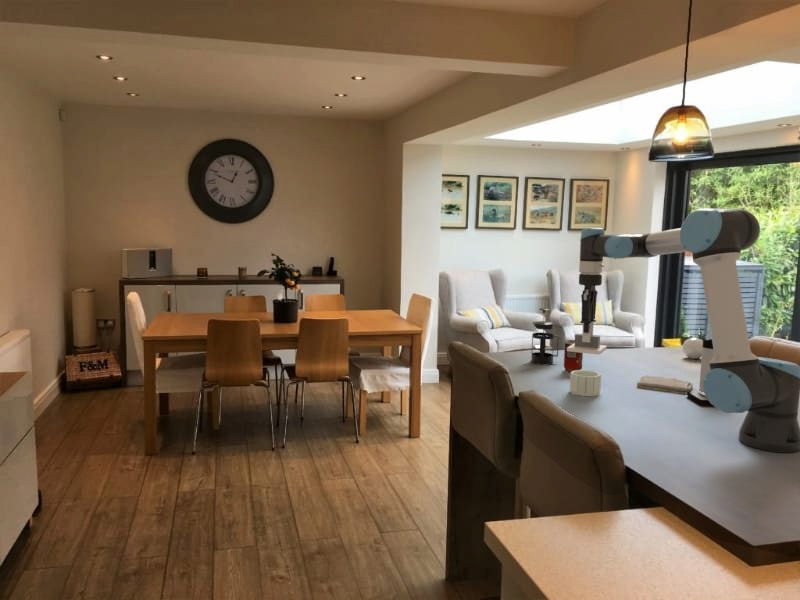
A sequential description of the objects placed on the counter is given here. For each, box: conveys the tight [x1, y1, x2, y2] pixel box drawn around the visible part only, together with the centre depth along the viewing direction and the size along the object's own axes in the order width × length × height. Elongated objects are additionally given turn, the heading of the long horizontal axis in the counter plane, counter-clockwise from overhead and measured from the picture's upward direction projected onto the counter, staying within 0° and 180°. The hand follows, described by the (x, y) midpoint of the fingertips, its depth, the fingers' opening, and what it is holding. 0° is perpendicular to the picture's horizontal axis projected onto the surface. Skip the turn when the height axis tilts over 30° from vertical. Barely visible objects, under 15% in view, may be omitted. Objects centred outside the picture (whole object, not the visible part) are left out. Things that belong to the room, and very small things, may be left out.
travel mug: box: [698, 338, 714, 392], centre depth 222 cm, size 6×7×20 cm
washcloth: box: [636, 375, 694, 394], centre depth 233 cm, size 12×18×3 cm, turn 60°
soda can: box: [563, 339, 584, 373], centre depth 255 cm, size 7×7×12 cm
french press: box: [530, 307, 560, 365], centre depth 271 cm, size 12×9×23 cm
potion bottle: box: [681, 337, 703, 360], centre depth 281 cm, size 9×10×15 cm
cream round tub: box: [569, 369, 602, 397], centre depth 224 cm, size 10×10×7 cm
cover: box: [567, 333, 608, 355], centre depth 222 cm, size 11×11×5 cm
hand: (587, 341), depth 222 cm, fingers closed on cover, 2 cm apart
